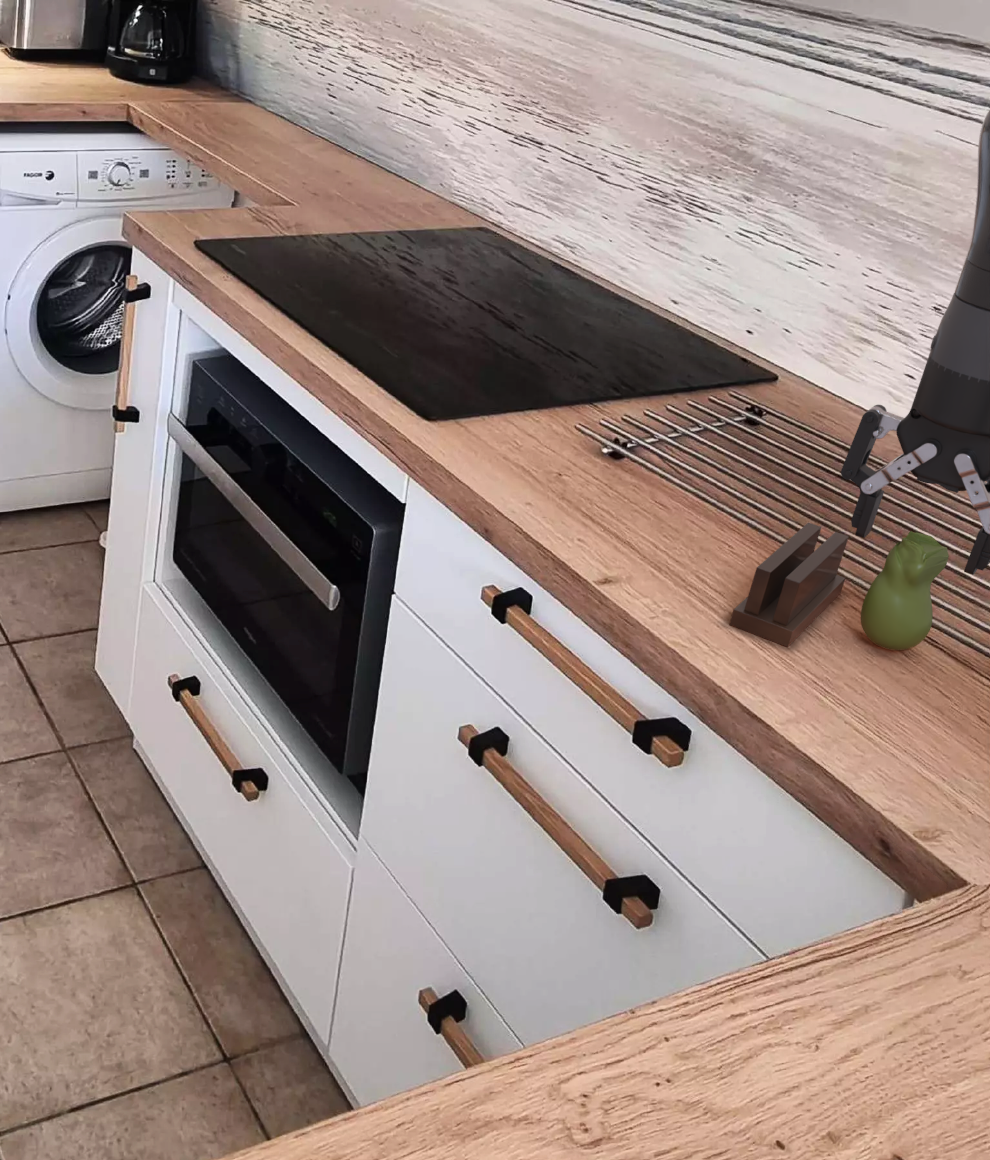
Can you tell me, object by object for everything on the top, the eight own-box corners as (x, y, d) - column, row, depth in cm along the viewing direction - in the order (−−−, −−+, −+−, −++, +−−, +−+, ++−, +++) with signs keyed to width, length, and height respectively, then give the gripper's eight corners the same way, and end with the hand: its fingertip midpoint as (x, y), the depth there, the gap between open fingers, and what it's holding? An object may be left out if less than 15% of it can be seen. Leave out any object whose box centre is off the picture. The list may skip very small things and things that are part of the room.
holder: (840, 592, 134) (859, 536, 132) (787, 647, 124) (806, 588, 121) (785, 572, 137) (802, 517, 134) (728, 624, 126) (746, 566, 124)
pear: (877, 623, 129) (914, 517, 125) (934, 652, 126) (973, 544, 121) (839, 638, 126) (875, 530, 122) (896, 667, 123) (935, 557, 118)
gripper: (1094, 377, 114) (1018, 569, 121) (901, 326, 121) (841, 509, 128) (1075, 401, 108) (997, 599, 116) (874, 345, 115) (813, 535, 123)
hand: (915, 552), depth 122 cm, fingers open, 8 cm apart
